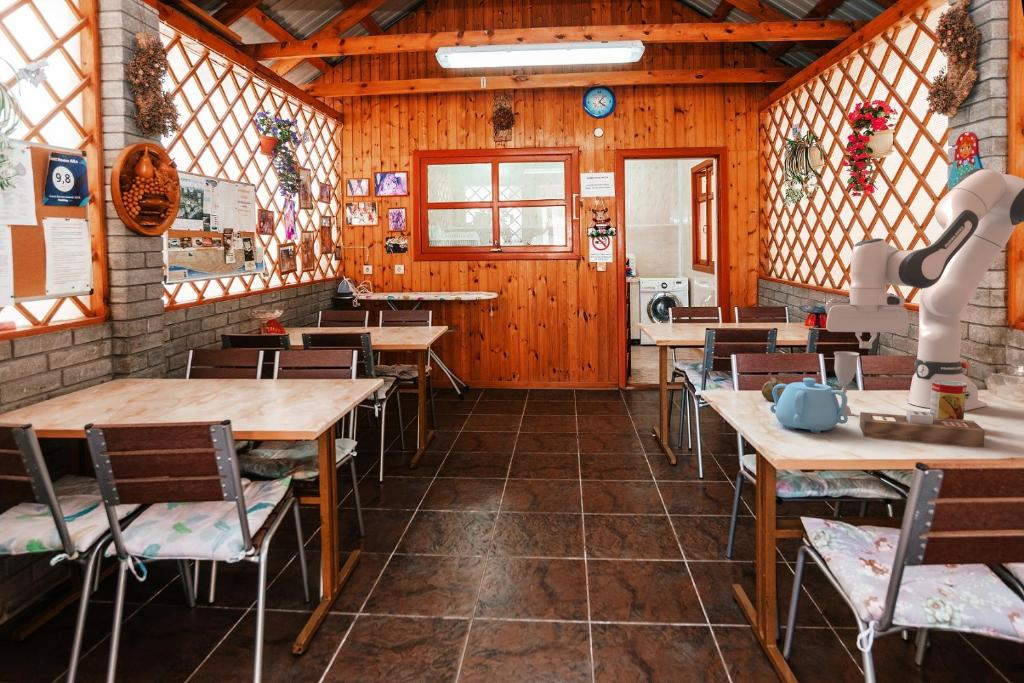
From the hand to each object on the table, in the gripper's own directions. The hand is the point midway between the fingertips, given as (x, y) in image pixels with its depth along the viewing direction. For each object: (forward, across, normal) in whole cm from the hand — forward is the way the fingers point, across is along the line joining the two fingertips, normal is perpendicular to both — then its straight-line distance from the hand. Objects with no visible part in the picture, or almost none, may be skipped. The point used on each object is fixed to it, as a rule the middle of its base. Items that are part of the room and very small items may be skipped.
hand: (865, 348), depth 185 cm
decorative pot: (+20, -15, -14) cm, 29 cm away
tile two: (+18, +12, -12) cm, 24 cm away
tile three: (+20, +19, -12) cm, 31 cm away
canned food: (+22, +20, +4) cm, 30 cm away
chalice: (+21, -5, +8) cm, 23 cm away
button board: (+21, +12, -12) cm, 27 cm away
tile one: (+20, +4, -12) cm, 23 cm away
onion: (+20, -24, +20) cm, 37 cm away
